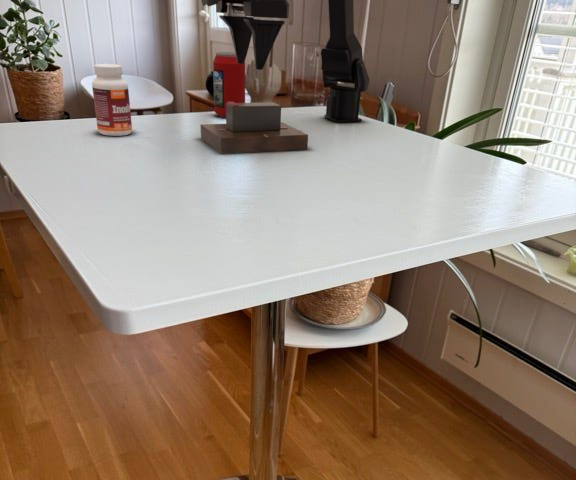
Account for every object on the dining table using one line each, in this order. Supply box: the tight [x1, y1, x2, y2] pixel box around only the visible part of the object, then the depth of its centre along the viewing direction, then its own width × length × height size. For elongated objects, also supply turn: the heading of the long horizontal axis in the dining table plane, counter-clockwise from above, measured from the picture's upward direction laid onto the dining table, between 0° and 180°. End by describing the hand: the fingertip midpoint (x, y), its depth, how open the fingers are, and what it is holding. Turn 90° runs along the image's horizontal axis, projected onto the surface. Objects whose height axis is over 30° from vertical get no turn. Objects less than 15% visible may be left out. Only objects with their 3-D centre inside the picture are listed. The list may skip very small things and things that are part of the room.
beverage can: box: [212, 51, 246, 119], centre depth 121 cm, size 7×7×12 cm
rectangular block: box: [225, 101, 282, 132], centre depth 99 cm, size 9×4×4 cm, turn 113°
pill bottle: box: [91, 63, 133, 137], centre depth 101 cm, size 6×6×11 cm
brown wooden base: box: [200, 121, 309, 155], centre depth 101 cm, size 16×13×3 cm
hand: (249, 66), depth 96 cm, fingers open, 9 cm apart
